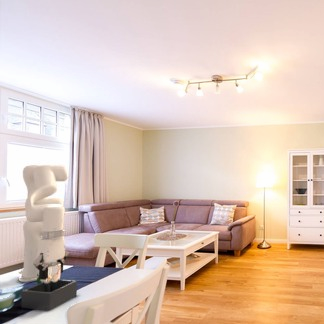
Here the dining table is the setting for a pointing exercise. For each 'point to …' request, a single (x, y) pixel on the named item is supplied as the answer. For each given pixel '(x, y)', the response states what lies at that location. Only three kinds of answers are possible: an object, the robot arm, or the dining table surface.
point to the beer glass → (52, 277)
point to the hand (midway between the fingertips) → (51, 275)
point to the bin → (48, 296)
